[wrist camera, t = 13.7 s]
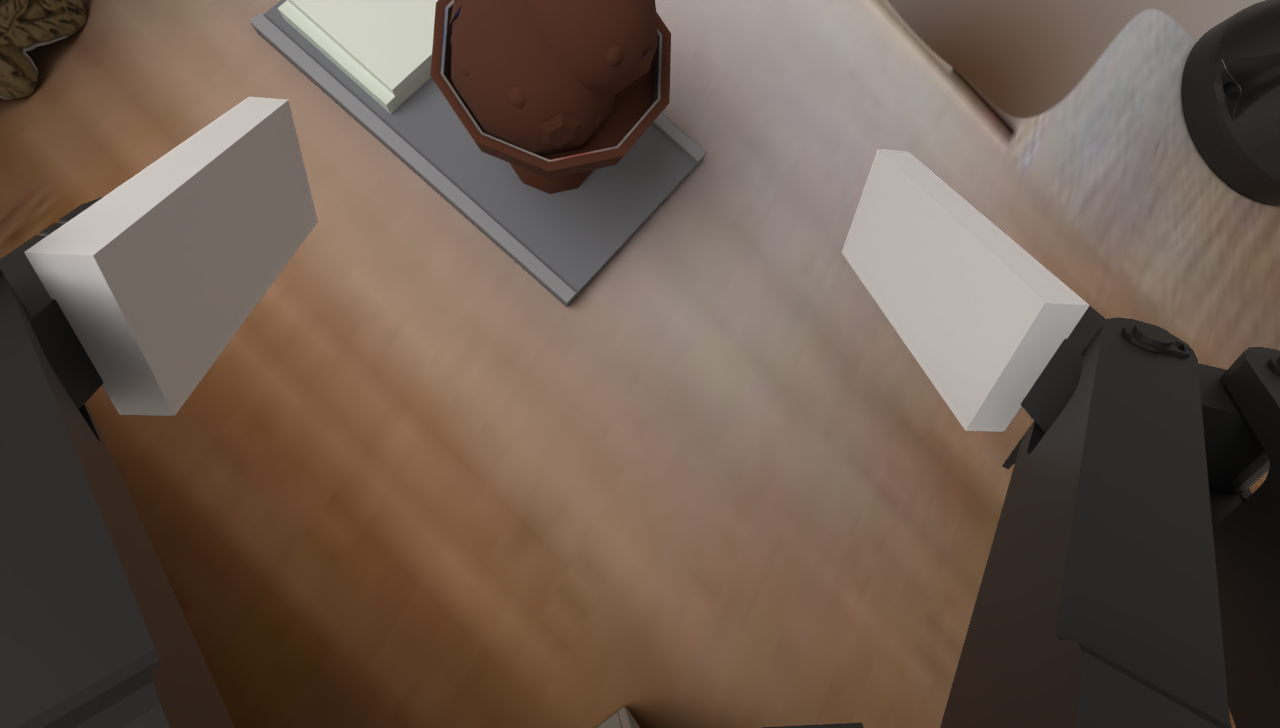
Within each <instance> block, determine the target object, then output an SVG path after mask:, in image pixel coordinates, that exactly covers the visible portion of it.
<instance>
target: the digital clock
mask: <svg viewBox="0 0 1280 728" xmlns="http://www.w3.org/2000/svg"><path fill="white" fill-rule="evenodd" d="M597 728H640V727H639V725H638V724H637V722H636V721H635V719H634V718H633V716H632V715H631V713H630V712H629V710H628V709H627V708H626V707H623V708H621V709H620V710H619V711H618V712H616V713H615V714H614V715H613V716H611V717H610V718H609V719H607V720H606V721H605V722H604V723H602V724H601V725H600V726H599V727H597Z"/></svg>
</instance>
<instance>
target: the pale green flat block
mask: <svg viewBox="0 0 1280 728" xmlns="http://www.w3.org/2000/svg"><path fill="white" fill-rule="evenodd" d="M437 1H438V0H287V1H286V2H284V3H283V4H282V5H281V6H279V7H278V10H279V11H280V13H281V15H282V16H283V18H284V19H285V21H286V22H288V23H289V24H290V25H291V26H292V27H293V28H294V29H295V30H297V31H298V32H299V33H300V34H301V35H302V36H303V37H304V38H306V39H307V40H308V41H309V42H310V43H311V44H312V45H313V46H315V47H316V48H317V49H318V50H319V51H320V52H321V53H322V54H324V55H325V56H326V57H327V58H328V59H329V60H330V61H331V62H333V63H334V64H335V65H336V66H337V67H338V68H339V69H340V70H342V71H343V72H344V73H345V74H346V75H347V76H348V77H349V78H351V79H352V80H353V81H354V82H355V83H356V84H357V85H358V86H360V87H361V88H362V89H363V90H364V91H365V92H366V93H367V94H369V95H370V96H371V97H372V98H373V99H374V100H375V101H376V102H378V103H379V104H380V105H381V106H382V107H383V108H384V109H385V110H387V111H388V112H389V113H390V114H391V113H392V112H393V111H395V110H396V109H397V108H398V107H399V106H400V105H401V104H402V103H403V102H404V101H405V100H407V99H408V98H409V97H410V96H411V95H412V94H413V93H414V92H415V91H416V90H418V89H419V88H420V87H421V86H422V85H423V84H424V83H425V82H426V81H427V80H428V79H430V78H431V76H430V74H431V61H432V47H433V34H434V21H435V8H436V2H437Z"/></svg>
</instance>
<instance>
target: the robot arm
mask: <svg viewBox="0 0 1280 728" xmlns="http://www.w3.org/2000/svg"><path fill="white" fill-rule="evenodd" d="M1182 100H1183V108H1184V113H1185V118H1186V121H1187V125H1188V128H1189V130H1190V133H1191V136H1192V138H1193V140H1194V142H1195V144H1196V146H1197V148H1198V150H1199V151H1200V153H1201V155H1202V156H1203V158H1204V159H1205V160H1206V162H1207V163H1208V164H1209V166H1210V167H1211V168H1212V169H1213V170H1214V172H1215V173H1216V174H1217V175H1218V176H1219V177H1220V178H1221V179H1222V180H1224V181H1225V182H1226V183H1227V184H1228V185H1230V186H1231V187H1232V188H1234V189H1235V190H1237V191H1238V192H1240V193H1241V194H1243V195H1245V196H1247V197H1249V198H1251V199H1254V200H1256V201H1259V202H1262V203H1266V204H1271V205H1279V206H1280V0H1266V1H1263V2H1259V3H1256V4H1254V5H1252V6H1250V7H1248V8H1245V9H1243V10H1242V11H1240V12H1238V13H1236V14H1235V15H1233V16H1231V17H1230V18H1228V19H1226V20H1225V21H1223V22H1222V23H1220V24H1218V25H1217V26H1215V27H1214V28H1212V29H1210V30H1209V31H1208V32H1207V33H1205V34H1204V35H1203V36H1202V37H1201V38H1200V39H1199V41H1198V42H1197V43H1196V45H1195V46H1194V47H1193V49H1192V51H1191V53H1190V55H1189V57H1188V60H1187V63H1186V66H1185V70H1184V74H1183V82H1182ZM317 222H318V220H317V216H316V212H315V208H314V204H313V199H312V195H311V191H310V187H309V183H308V179H307V175H306V171H305V166H304V162H303V158H302V154H301V150H300V146H299V142H298V137H297V133H296V129H295V125H294V121H293V117H292V113H291V109H290V104H289V100H284V99H272V98H260V97H248V98H246V99H245V100H243V101H242V102H241V103H239V104H238V105H236V106H235V107H233V108H232V109H230V110H229V111H228V112H226V113H225V114H223V115H222V116H220V117H219V118H217V119H216V120H214V121H213V122H212V123H210V124H209V125H207V126H206V127H204V128H203V129H201V130H200V131H199V132H197V133H196V134H194V135H193V136H191V137H190V138H188V139H187V140H186V141H184V142H183V143H181V144H180V145H178V146H177V147H175V148H174V149H172V150H171V151H170V152H168V153H167V154H165V155H164V156H162V157H161V158H159V159H158V160H157V161H155V162H154V163H152V164H151V165H149V166H148V167H146V168H145V169H144V170H142V171H141V172H139V173H138V174H136V175H135V176H133V177H132V178H131V179H129V180H128V181H126V182H125V183H123V184H122V185H120V186H119V187H117V188H116V189H115V190H113V191H112V192H110V193H109V194H107V195H106V196H104V197H101V198H98V199H96V200H93V201H90V202H88V203H85V204H82V205H80V206H79V207H77V208H76V209H74V210H73V211H71V212H70V213H68V214H67V215H65V216H64V217H62V218H61V219H59V223H54V224H52V225H51V226H49V227H48V228H46V229H45V230H43V231H42V232H40V233H41V236H34V237H33V238H31V239H30V240H28V241H27V242H25V243H24V244H22V245H21V246H19V247H18V248H16V249H15V250H14V251H12V252H11V253H9V254H8V255H6V256H5V257H3V258H2V259H0V728H235V727H234V725H233V723H232V720H231V718H230V716H229V714H228V711H227V709H226V707H225V705H224V703H223V700H222V698H221V696H220V694H219V692H218V689H217V687H216V685H215V683H214V681H213V678H212V676H211V674H210V672H209V670H208V667H207V665H206V663H205V661H204V659H203V656H202V654H201V652H200V650H199V648H198V645H197V643H196V641H195V639H194V636H193V634H192V632H191V630H190V628H189V625H188V623H187V621H186V619H185V617H184V614H183V612H182V610H181V608H180V606H179V603H178V601H177V599H176V597H175V595H174V592H173V590H172V588H171V586H170V584H169V581H168V579H167V577H166V575H165V573H164V570H163V568H162V566H161V564H160V561H159V559H158V557H157V555H156V553H155V550H154V548H153V546H152V544H151V542H150V539H149V537H148V535H147V533H146V531H145V528H144V526H143V524H142V522H141V520H140V517H139V515H138V513H137V511H136V509H135V506H134V504H133V502H132V500H131V498H130V495H129V493H128V491H127V489H126V486H125V484H124V482H123V480H122V478H121V475H120V473H119V471H118V469H117V467H116V464H115V462H114V460H113V458H112V456H111V453H110V451H109V449H108V447H107V445H106V442H105V440H104V438H103V436H102V434H101V431H100V429H99V427H98V425H97V423H96V421H95V419H94V417H93V416H92V414H91V413H90V411H89V409H88V408H87V406H86V405H85V402H86V401H87V400H88V399H89V398H90V397H91V396H92V395H93V394H94V393H95V392H96V390H97V389H98V388H99V387H100V386H101V385H102V386H103V387H104V389H105V391H106V393H107V394H108V396H109V398H110V399H111V401H112V403H113V404H114V406H115V408H116V410H117V411H118V413H119V415H166V416H175V415H176V413H177V412H178V411H179V409H180V408H181V406H182V405H183V404H184V402H185V401H186V400H187V398H188V397H189V396H190V394H191V393H192V392H193V390H194V389H195V387H196V386H197V385H198V383H199V382H200V381H201V379H202V378H203V377H204V375H205V374H206V373H207V371H208V370H209V368H210V367H211V366H212V364H213V363H214V362H215V360H216V359H217V358H218V356H219V355H220V354H221V352H222V351H223V349H224V348H225V347H226V345H227V344H228V343H229V341H230V340H231V339H232V337H233V336H234V335H235V333H236V332H237V330H238V329H239V328H240V326H241V325H242V324H243V322H244V321H245V320H246V318H247V317H248V316H249V314H250V313H251V311H252V310H253V309H254V307H255V306H256V305H257V303H258V302H259V301H260V299H261V298H262V297H263V295H264V294H265V292H266V291H267V290H268V288H269V287H270V286H271V284H272V283H273V282H274V280H275V279H276V278H277V276H278V275H279V273H280V272H281V271H282V269H283V268H284V267H285V265H286V264H287V263H288V261H289V260H290V259H291V257H292V256H293V254H294V253H295V252H296V250H297V249H298V248H299V246H300V245H301V244H302V242H303V241H304V240H305V238H306V237H307V235H308V234H309V233H310V231H311V230H312V229H313V227H314V226H315V225H316V223H317ZM842 254H843V255H844V257H845V258H846V259H847V261H848V262H849V264H850V265H851V267H852V268H853V270H854V271H855V272H856V274H857V275H858V277H859V278H860V280H861V281H862V283H863V284H864V285H865V287H866V288H867V290H868V291H869V293H870V294H871V295H872V297H873V298H874V300H875V301H876V303H877V304H878V306H879V307H880V308H881V310H882V311H883V313H884V314H885V316H886V317H887V319H888V320H889V321H890V323H891V324H892V326H893V327H894V329H895V330H896V331H897V333H898V334H899V336H900V337H901V339H902V340H903V342H904V343H905V344H906V346H907V347H908V349H909V350H910V352H911V353H912V354H913V356H914V357H915V359H916V360H917V362H918V363H919V365H920V366H921V367H922V369H923V370H924V372H925V373H926V375H927V376H928V378H929V379H930V380H931V382H932V383H933V385H934V386H935V388H936V389H937V390H938V392H939V393H940V395H941V396H942V398H943V399H944V401H945V402H946V403H947V405H948V406H949V408H950V409H951V411H952V412H953V414H954V415H955V416H956V418H957V419H958V421H959V422H960V424H961V425H962V426H963V428H964V429H965V431H997V432H1004V431H1005V430H1006V428H1007V427H1008V425H1009V424H1010V422H1011V421H1012V419H1013V418H1014V416H1015V415H1016V413H1017V412H1018V410H1019V409H1020V408H1021V406H1023V408H1024V409H1025V410H1026V411H1027V412H1028V414H1029V415H1030V416H1031V417H1032V418H1033V420H1034V422H1033V423H1032V425H1031V426H1030V428H1029V429H1028V430H1027V432H1026V433H1025V435H1024V436H1023V437H1022V439H1021V440H1020V442H1019V443H1018V444H1017V446H1016V447H1015V449H1014V450H1013V451H1012V453H1011V454H1010V456H1009V457H1008V458H1007V460H1006V461H1005V463H1004V464H1003V467H1005V468H1007V469H1009V468H1010V467H1011V466H1012V465H1013V464H1015V466H1014V469H1013V473H1012V476H1011V480H1010V483H1009V487H1008V491H1007V494H1006V498H1005V501H1004V505H1003V508H1002V512H1001V515H1000V519H999V522H998V526H997V529H996V533H995V536H994V540H993V543H992V547H991V550H990V554H989V558H988V561H987V565H986V568H985V572H984V575H983V579H982V582H981V586H980V589H979V593H978V596H977V600H976V603H975V607H974V610H973V614H972V617H971V621H970V625H969V628H968V632H967V635H966V639H965V642H964V646H963V649H962V653H961V656H960V660H959V663H958V667H957V670H956V674H955V677H954V681H953V684H952V688H951V692H950V695H949V699H948V702H947V706H946V709H945V713H944V716H943V720H942V723H941V727H940V728H1232V727H1231V723H1230V717H1229V709H1230V712H1231V714H1232V717H1233V720H1234V723H1235V725H1236V728H1280V351H1279V350H1274V349H1269V348H1263V347H1252V348H1248V349H1247V350H1246V351H1245V352H1243V354H1242V355H1241V356H1240V357H1239V358H1238V359H1237V360H1236V361H1235V362H1234V363H1233V364H1232V365H1231V367H1230V368H1229V369H1228V370H1225V369H1220V368H1216V367H1212V366H1207V365H1203V364H1198V361H1197V357H1196V355H1195V353H1194V351H1193V350H1192V349H1191V348H1190V347H1189V345H1188V344H1186V343H1184V342H1183V341H1182V340H1180V339H1179V338H1177V337H1175V336H1174V335H1172V334H1170V333H1169V332H1168V331H1166V330H1164V329H1162V328H1160V327H1158V326H1155V325H1151V324H1148V323H1144V322H1140V321H1137V320H1133V319H1126V318H1112V319H1107V320H1106V319H1105V318H1104V317H1103V316H1101V315H1100V314H1099V313H1098V312H1097V311H1095V310H1094V309H1093V308H1092V307H1091V306H1090V305H1089V304H1088V303H1086V302H1085V301H1084V300H1083V299H1082V298H1080V297H1079V296H1078V295H1077V294H1076V293H1075V292H1073V291H1072V290H1071V289H1070V288H1069V287H1068V286H1066V285H1065V284H1064V283H1063V282H1062V281H1060V280H1059V279H1058V278H1057V277H1056V276H1055V275H1053V274H1052V273H1051V272H1050V271H1049V270H1047V269H1046V268H1045V267H1044V266H1043V265H1042V264H1040V263H1039V262H1038V261H1037V260H1036V259H1034V258H1033V257H1032V256H1031V255H1030V254H1029V253H1027V252H1026V251H1025V250H1024V249H1023V248H1021V247H1020V246H1019V245H1018V244H1017V243H1016V242H1014V241H1013V240H1012V239H1011V238H1010V237H1008V236H1007V235H1006V234H1005V233H1004V232H1003V231H1001V230H1000V229H999V228H998V227H997V226H995V225H994V224H993V223H992V222H991V221H990V220H988V219H987V218H986V217H985V216H984V215H982V214H981V213H980V212H979V211H978V210H977V209H975V208H974V207H973V206H972V205H971V204H970V203H968V202H967V201H966V200H965V199H964V198H962V197H961V196H960V195H959V194H958V193H957V192H955V191H954V190H953V189H952V188H951V187H949V186H948V185H947V184H946V183H945V182H944V181H942V180H941V179H940V178H939V177H938V176H936V175H935V174H934V173H933V172H932V171H931V170H929V169H928V168H927V167H926V166H925V165H923V164H922V163H921V162H920V161H919V160H918V159H916V158H915V157H914V156H913V155H912V154H910V153H909V152H908V151H897V150H885V149H878V150H877V153H876V156H875V159H874V162H873V164H872V167H871V170H870V173H869V176H868V179H867V181H866V184H865V187H864V190H863V193H862V196H861V199H860V201H859V204H858V207H857V210H856V213H855V216H854V218H853V221H852V224H851V227H850V230H849V233H848V236H847V238H846V241H845V244H844V247H843V250H842ZM1268 470H1269V473H1268V475H1267V478H1266V480H1265V481H1264V482H1263V484H1262V485H1261V486H1260V487H1259V488H1258V489H1257V490H1256V491H1255V492H1254V493H1253V494H1252V493H1251V491H1250V489H1249V487H1250V486H1252V485H1253V484H1254V483H1255V482H1256V481H1257V480H1258V479H1259V478H1261V477H1262V476H1263V475H1264V474H1265V473H1266V472H1267V471H1268ZM763 728H863V725H862V723H847V724H826V725H805V726H784V727H763Z"/></svg>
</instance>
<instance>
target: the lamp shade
mask: <svg viewBox="0 0 1280 728" xmlns="http://www.w3.org/2000/svg"><path fill="white" fill-rule="evenodd" d="M86 21H87V15H86V7H85V2H84V0H0V98H3V99H6V100H8V99H17V98H24V97H27V96H30V95H31V94H32V93H33V92H34V91H35V88H36V85H37V79H38V70H37V68H36V66H35V64H34V62H33V61H32V59H31V58H30V57H29V55H27V54H26V51H31V50H33V49H34V48H36V47H38V46H43V45H47V44H51V43H53V42H56V41H59V40H61V39H64V38H67V37H69V36H71V35H72V34H74V33H75V32H77V31H78V30H79V29H81V28H82V27H83V26H84V25H85V23H86Z"/></svg>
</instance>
